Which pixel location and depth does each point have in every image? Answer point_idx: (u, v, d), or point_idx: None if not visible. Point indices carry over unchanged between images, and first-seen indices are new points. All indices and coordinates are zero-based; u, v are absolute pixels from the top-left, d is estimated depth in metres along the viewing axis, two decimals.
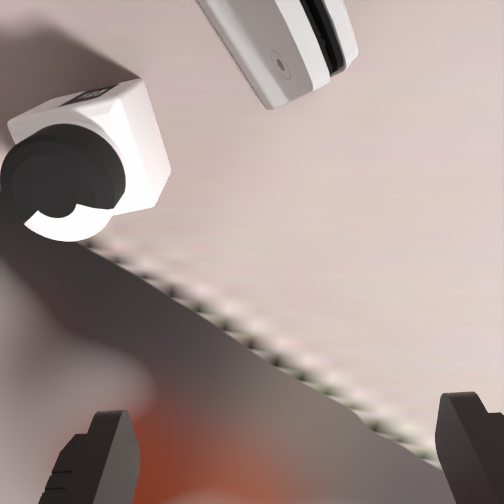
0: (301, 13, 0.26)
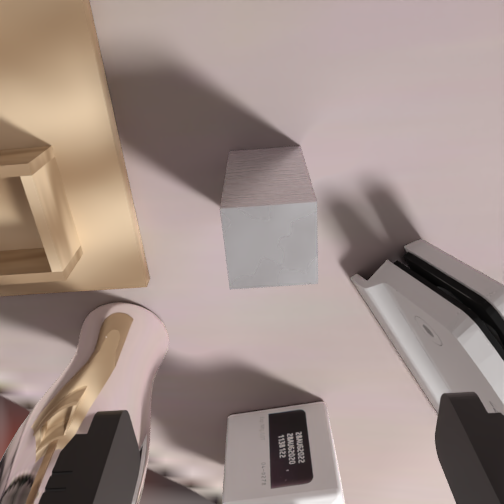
0: None
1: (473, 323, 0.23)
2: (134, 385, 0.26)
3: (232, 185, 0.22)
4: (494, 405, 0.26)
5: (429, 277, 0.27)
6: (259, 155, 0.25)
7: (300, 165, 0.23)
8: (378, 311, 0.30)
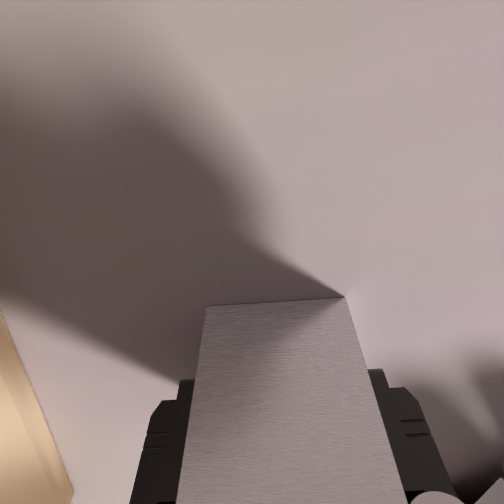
0: None
1: None
2: None
3: (201, 474, 0.09)
4: None
5: None
6: (265, 329, 0.12)
7: (358, 381, 0.11)
8: None
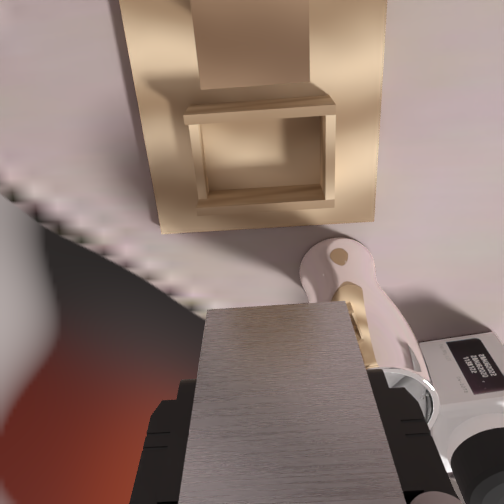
0: None
1: None
2: (387, 295, 0.32)
3: (203, 477, 0.09)
4: None
5: None
6: (266, 332, 0.13)
7: (358, 384, 0.11)
8: None
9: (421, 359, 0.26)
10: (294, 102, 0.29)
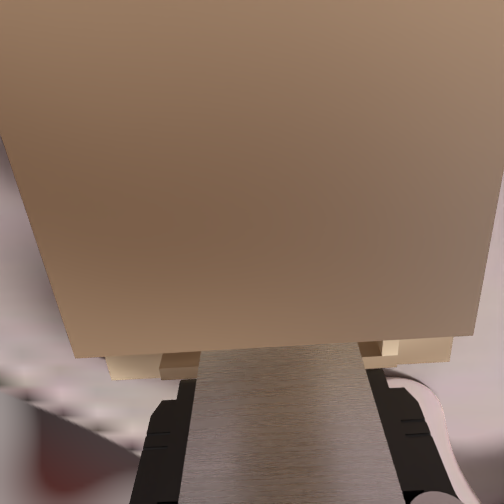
0: None
1: None
2: None
3: (202, 478, 0.09)
4: None
5: None
6: None
7: (358, 385, 0.11)
8: None
9: None
10: None
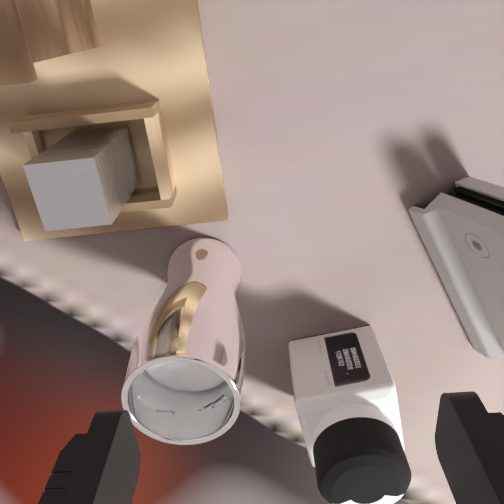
0: None
1: None
2: (227, 291, 0.32)
3: (47, 152, 0.28)
4: None
5: (477, 203, 0.34)
6: (90, 133, 0.32)
7: (111, 137, 0.30)
8: (431, 236, 0.36)
9: (224, 348, 0.26)
10: (119, 107, 0.31)
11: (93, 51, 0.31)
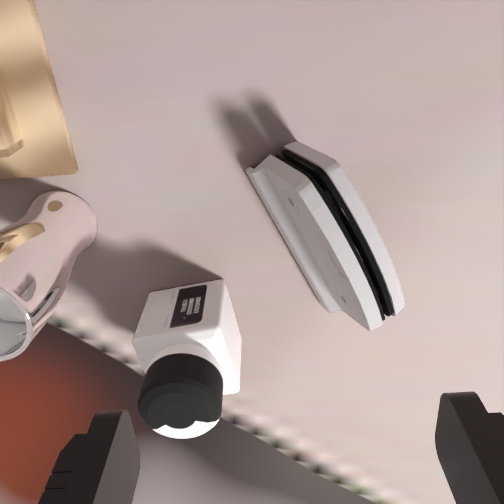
0: (371, 296, 0.36)
1: (310, 182, 0.33)
2: (58, 234, 0.36)
3: None
4: (330, 252, 0.35)
5: (295, 164, 0.37)
6: None
7: None
8: (262, 194, 0.40)
9: (21, 276, 0.30)
10: None
11: None
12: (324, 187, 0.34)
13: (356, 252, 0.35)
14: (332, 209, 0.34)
